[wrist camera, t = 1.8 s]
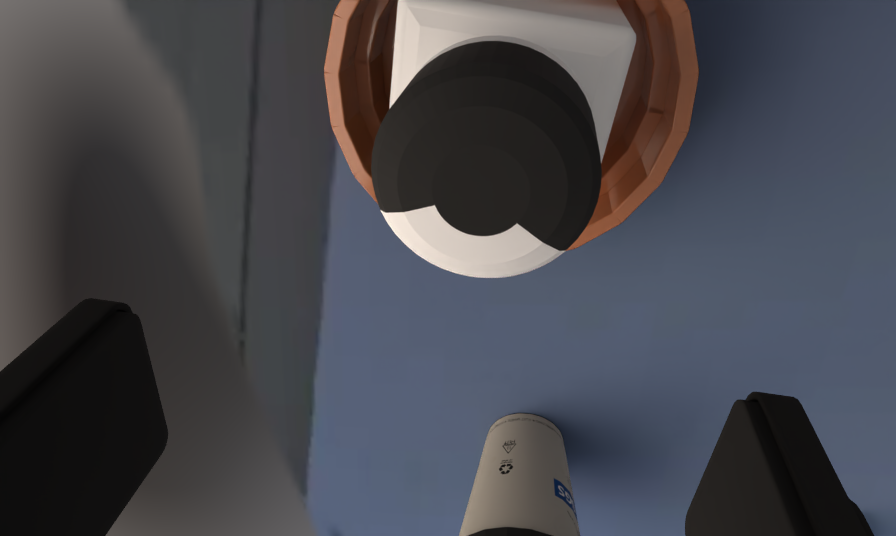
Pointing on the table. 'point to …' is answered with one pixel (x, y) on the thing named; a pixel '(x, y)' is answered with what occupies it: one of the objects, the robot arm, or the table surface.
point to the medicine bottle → (498, 128)
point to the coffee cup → (522, 482)
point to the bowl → (635, 123)
